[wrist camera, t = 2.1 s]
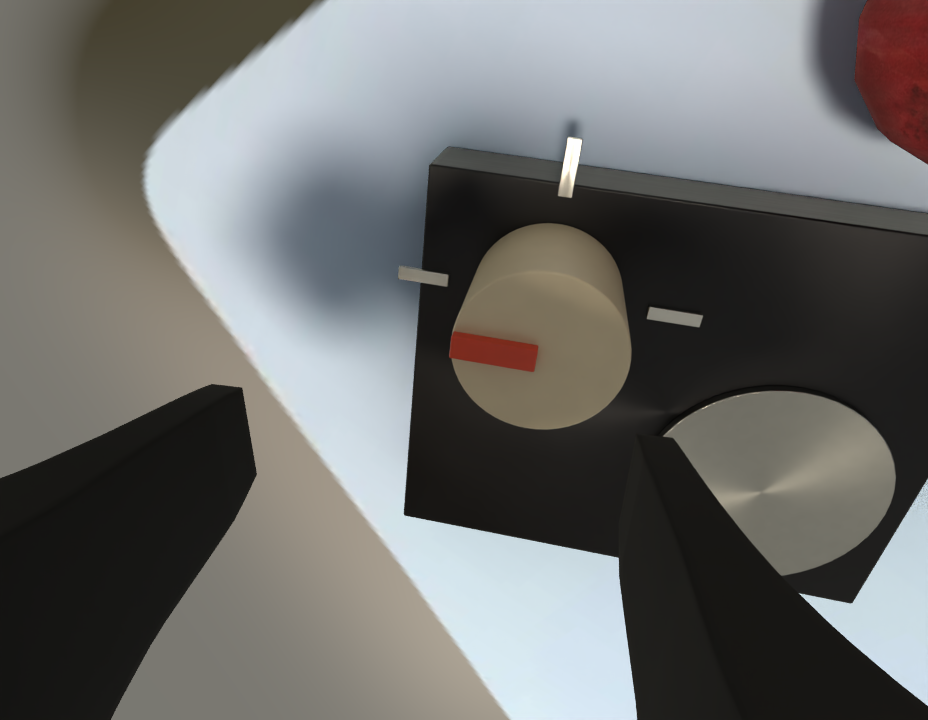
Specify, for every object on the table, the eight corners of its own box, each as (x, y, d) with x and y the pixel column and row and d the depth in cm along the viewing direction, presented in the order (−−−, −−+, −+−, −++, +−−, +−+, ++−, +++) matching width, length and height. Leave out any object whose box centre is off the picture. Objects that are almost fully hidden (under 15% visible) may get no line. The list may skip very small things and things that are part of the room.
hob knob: (638, 235, 16) (653, 292, 12) (605, 370, 18) (610, 451, 14) (482, 212, 16) (456, 262, 13) (466, 347, 18) (440, 421, 15)
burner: (937, 410, 17) (943, 416, 16) (834, 589, 20) (838, 597, 20) (672, 365, 17) (673, 370, 17) (616, 546, 21) (616, 553, 21)
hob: (1024, 181, 16) (1098, 209, 14) (826, 547, 23) (854, 608, 20) (429, 102, 18) (406, 115, 15) (404, 467, 24) (385, 515, 22)
